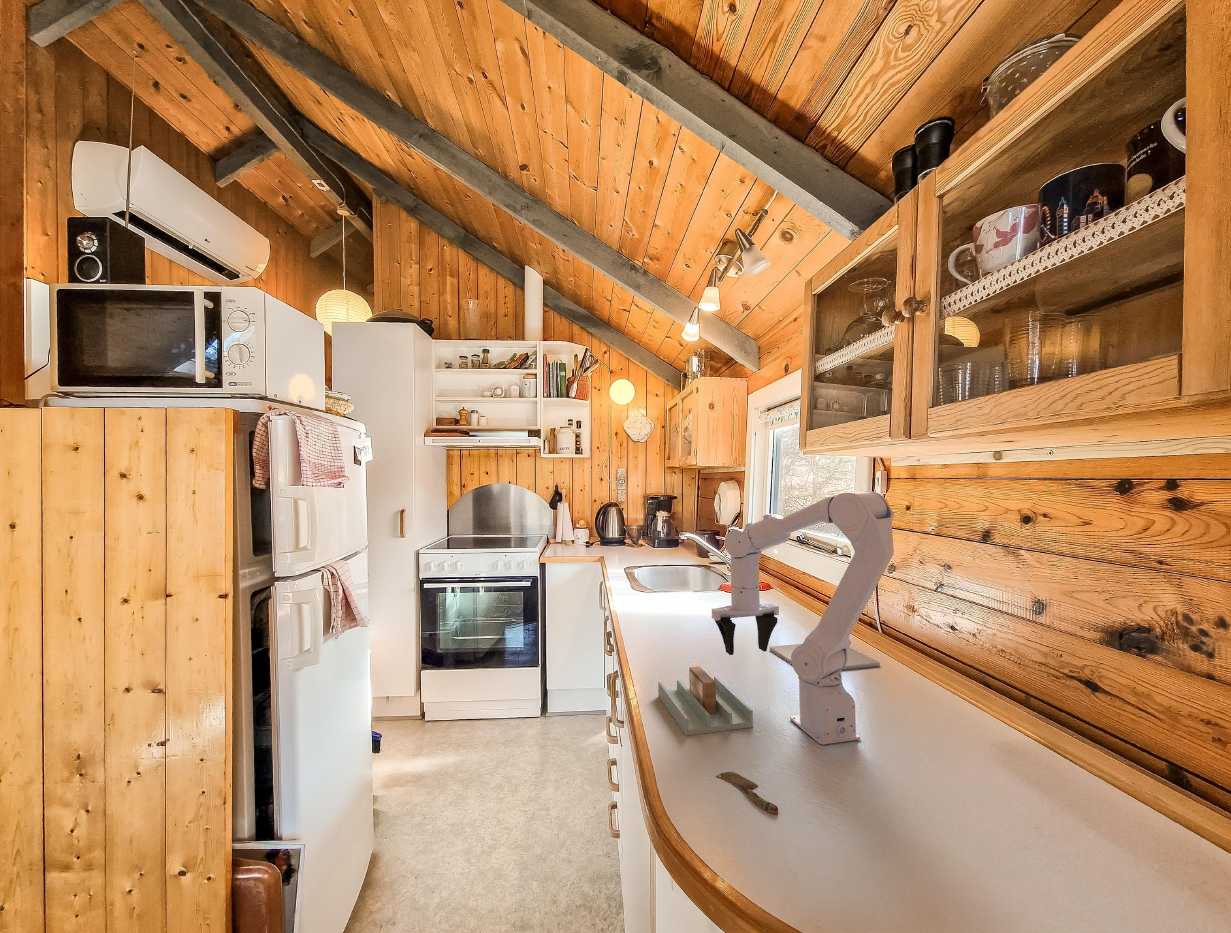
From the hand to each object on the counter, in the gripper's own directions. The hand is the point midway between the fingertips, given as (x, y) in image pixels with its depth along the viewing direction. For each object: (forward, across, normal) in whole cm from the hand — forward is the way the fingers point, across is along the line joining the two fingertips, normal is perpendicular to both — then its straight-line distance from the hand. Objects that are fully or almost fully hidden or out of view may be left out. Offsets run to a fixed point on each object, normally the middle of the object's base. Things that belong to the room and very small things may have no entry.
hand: (746, 651), depth 101 cm
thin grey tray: (+10, -29, -15) cm, 35 cm away
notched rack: (+9, +11, +3) cm, 15 cm away
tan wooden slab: (+8, +11, +3) cm, 14 cm away
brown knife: (+10, +16, +27) cm, 33 cm away
